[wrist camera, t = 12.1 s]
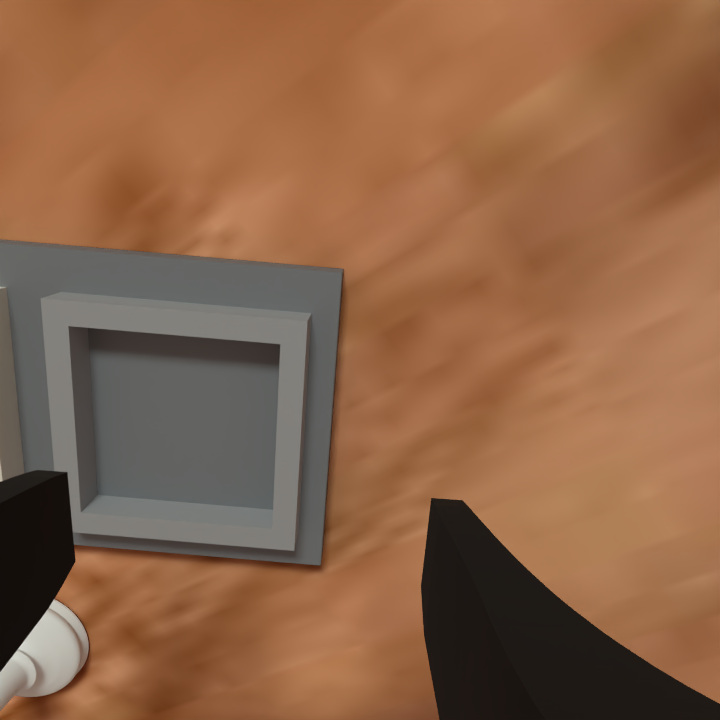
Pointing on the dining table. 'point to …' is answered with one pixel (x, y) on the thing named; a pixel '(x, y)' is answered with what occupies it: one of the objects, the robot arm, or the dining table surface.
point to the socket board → (172, 396)
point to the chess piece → (46, 656)
